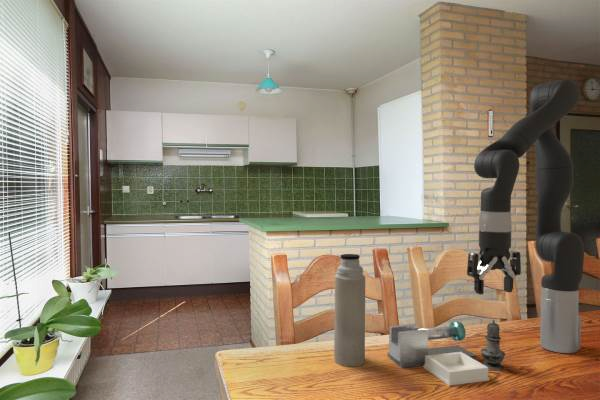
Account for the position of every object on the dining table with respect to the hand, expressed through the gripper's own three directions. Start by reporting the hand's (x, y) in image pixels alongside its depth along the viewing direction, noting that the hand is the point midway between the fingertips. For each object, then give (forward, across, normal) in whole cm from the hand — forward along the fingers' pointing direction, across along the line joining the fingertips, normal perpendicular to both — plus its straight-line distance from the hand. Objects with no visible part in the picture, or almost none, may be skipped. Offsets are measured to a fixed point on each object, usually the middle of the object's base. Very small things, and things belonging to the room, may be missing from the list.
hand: (493, 292), depth 114 cm
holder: (+19, +12, +2) cm, 22 cm away
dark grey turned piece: (+19, 0, 0) cm, 19 cm away
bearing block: (+19, +12, -9) cm, 24 cm away
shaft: (+15, +10, -9) cm, 20 cm away
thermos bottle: (+19, +34, -13) cm, 41 cm away
